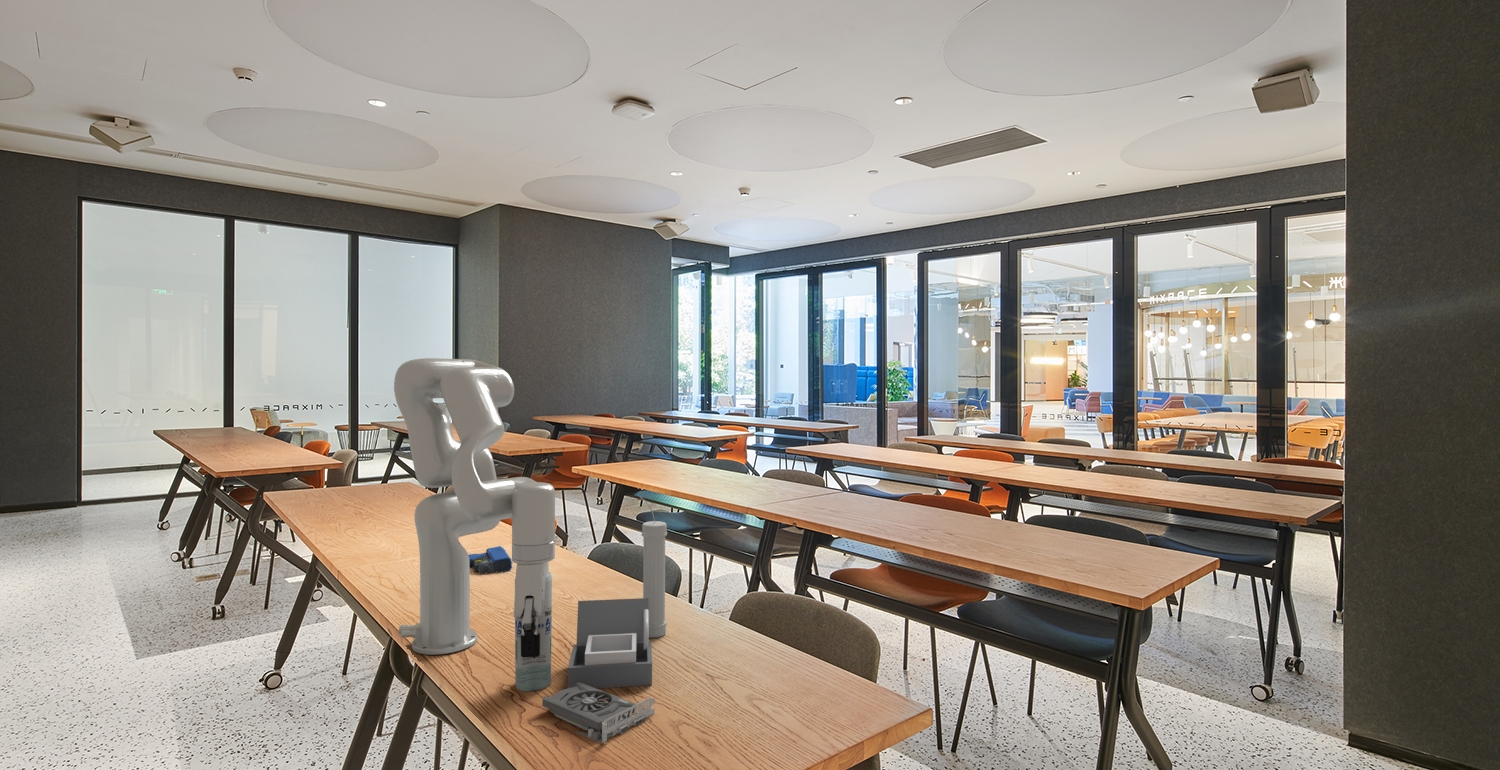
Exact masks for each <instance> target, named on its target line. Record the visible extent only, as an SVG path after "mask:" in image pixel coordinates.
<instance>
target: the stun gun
mask: <svg viewBox="0 0 1500 770" xmlns="http://www.w3.org/2000/svg"><path fill="white" fill-rule="evenodd" d="M468 556H469V567H470V568H471V567H473V569H474V572H479V573H480V574H489V573H491V572H492V573H494V574H495V573H504V572H510V571H511V570H512V568H513V566H512V564H513V561H512V557H510V555H509V554H508V553H507V552H506V549H504V547H502V546H501V545H499V546H494V547H493V546H492V547H488V548H487V549H486V550H485V552H482V553H472V554H470V553H469V554H468Z"/></svg>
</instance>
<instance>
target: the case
mask: <svg viewBox="0 0 1500 770" xmlns="http://www.w3.org/2000/svg"><path fill="white" fill-rule="evenodd" d="M576 623H577V624H576V625H577V627H576V643H575V644H573V645H572V648H571V649H572V650H571V654H570V658H569V661H568V665H567V689H568V688H572V687H575V686H576V683H583V684H585V685H588V686H591V687H593V688H596V689H604V688H605V689H607V688H608V689H609V688H621V687H622V688H624V687H625V688H626V687H638V686H639V687H640V686H641V687H642V686H652V685H653V656H652V655H653V654H652V653H653V652H652V651H653V650H652V641H651V640H649V638H650V637H649V598H643V597H642V598H641V597H640V598H639V597H638V598H619V599H618V598H617V599H616V598H615V599H614V598H613V599H595V600H593V599H592V600H578V601H577V622H576Z"/></svg>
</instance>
